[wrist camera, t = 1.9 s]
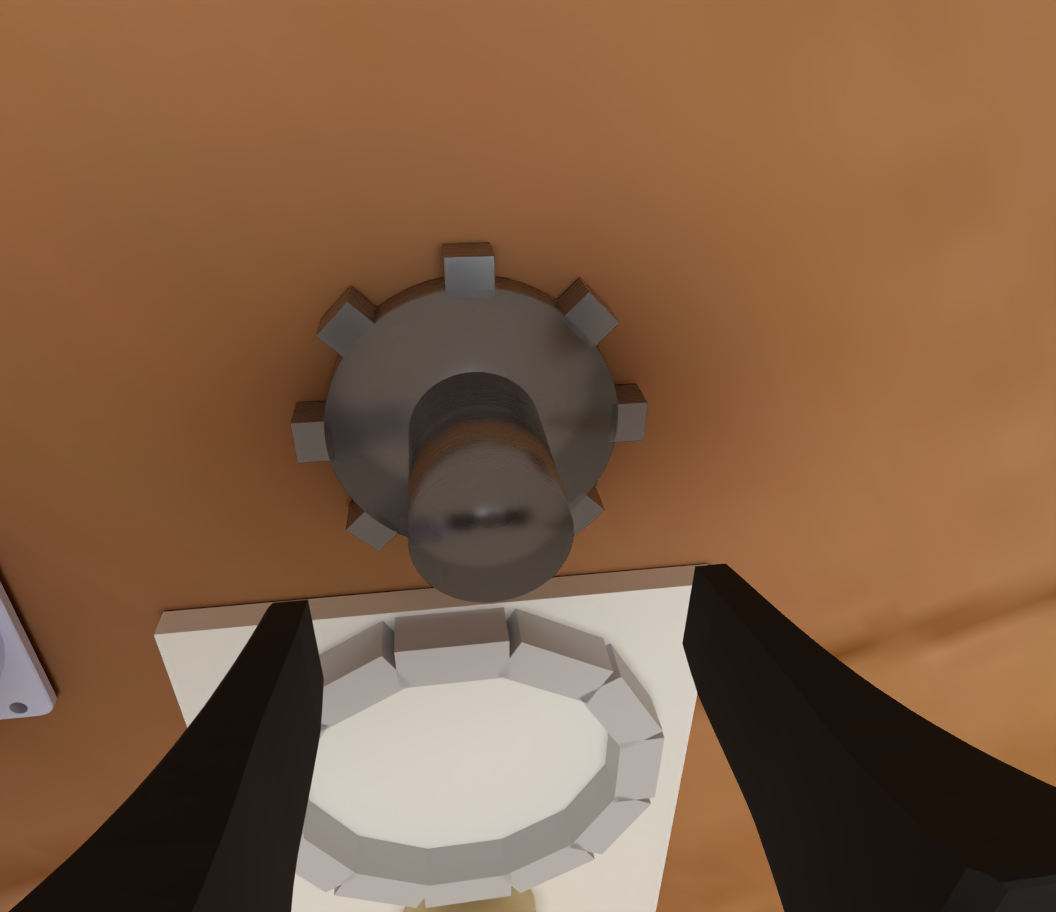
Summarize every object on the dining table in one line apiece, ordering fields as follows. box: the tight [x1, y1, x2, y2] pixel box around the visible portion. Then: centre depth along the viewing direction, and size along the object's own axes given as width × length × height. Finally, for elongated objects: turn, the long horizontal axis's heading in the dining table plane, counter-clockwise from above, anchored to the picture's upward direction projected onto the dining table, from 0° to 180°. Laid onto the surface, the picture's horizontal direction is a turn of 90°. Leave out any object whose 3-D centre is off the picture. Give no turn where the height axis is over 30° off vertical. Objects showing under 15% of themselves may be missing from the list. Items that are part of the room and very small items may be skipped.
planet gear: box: [291, 243, 648, 603], centre depth 18 cm, size 10×10×6 cm
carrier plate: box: [154, 564, 708, 912], centre depth 28 cm, size 18×23×4 cm
